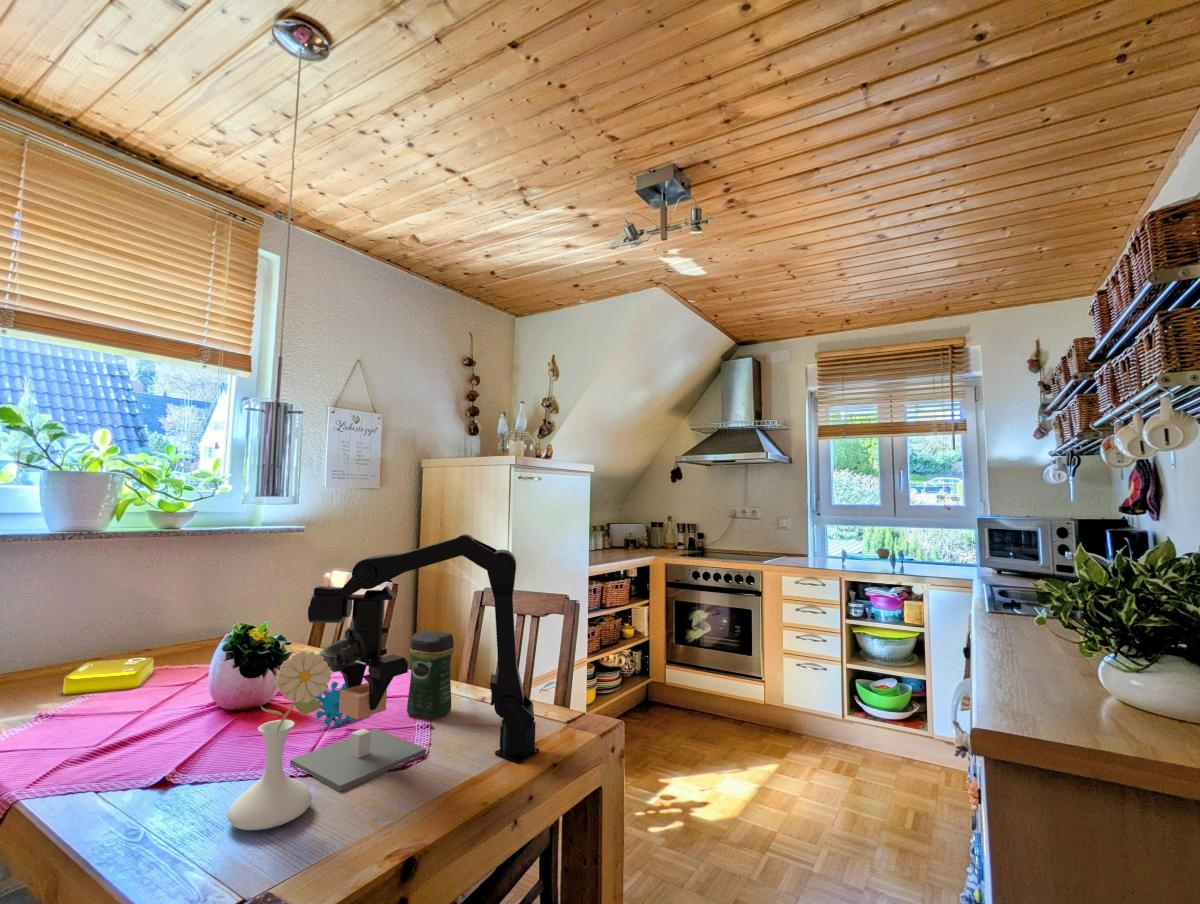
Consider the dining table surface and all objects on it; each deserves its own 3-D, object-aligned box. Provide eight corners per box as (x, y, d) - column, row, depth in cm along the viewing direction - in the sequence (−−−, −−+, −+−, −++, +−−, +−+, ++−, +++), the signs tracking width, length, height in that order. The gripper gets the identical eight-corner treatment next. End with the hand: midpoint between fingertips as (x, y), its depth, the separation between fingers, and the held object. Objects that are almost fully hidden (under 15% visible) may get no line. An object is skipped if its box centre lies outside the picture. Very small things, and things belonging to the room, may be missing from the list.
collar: (385, 710, 110) (387, 688, 110) (357, 719, 105) (358, 697, 105) (367, 703, 113) (368, 682, 114) (338, 712, 108) (340, 690, 109)
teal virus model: (316, 725, 120) (312, 681, 126) (305, 739, 122) (303, 696, 129) (368, 720, 127) (362, 678, 133) (357, 733, 129) (352, 692, 136)
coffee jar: (456, 711, 134) (460, 630, 135) (435, 723, 127) (439, 637, 128) (423, 704, 137) (427, 626, 139) (400, 716, 130) (404, 632, 132)
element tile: (84, 678, 150) (86, 659, 151) (154, 672, 157) (155, 655, 157) (59, 697, 137) (61, 676, 137) (136, 690, 143) (138, 670, 143)
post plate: (425, 754, 112) (427, 727, 112) (339, 791, 97) (341, 761, 97) (375, 733, 120) (377, 708, 121) (289, 765, 106) (291, 737, 106)
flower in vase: (218, 846, 81) (232, 666, 83) (234, 805, 92) (246, 646, 94) (320, 827, 86) (331, 658, 88) (324, 791, 97) (333, 640, 99)
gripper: (300, 622, 109) (295, 706, 108) (358, 638, 99) (353, 731, 97) (354, 613, 118) (349, 691, 117) (412, 627, 108) (407, 712, 107)
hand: (363, 705), depth 109 cm, fingers closed on collar, 6 cm apart
